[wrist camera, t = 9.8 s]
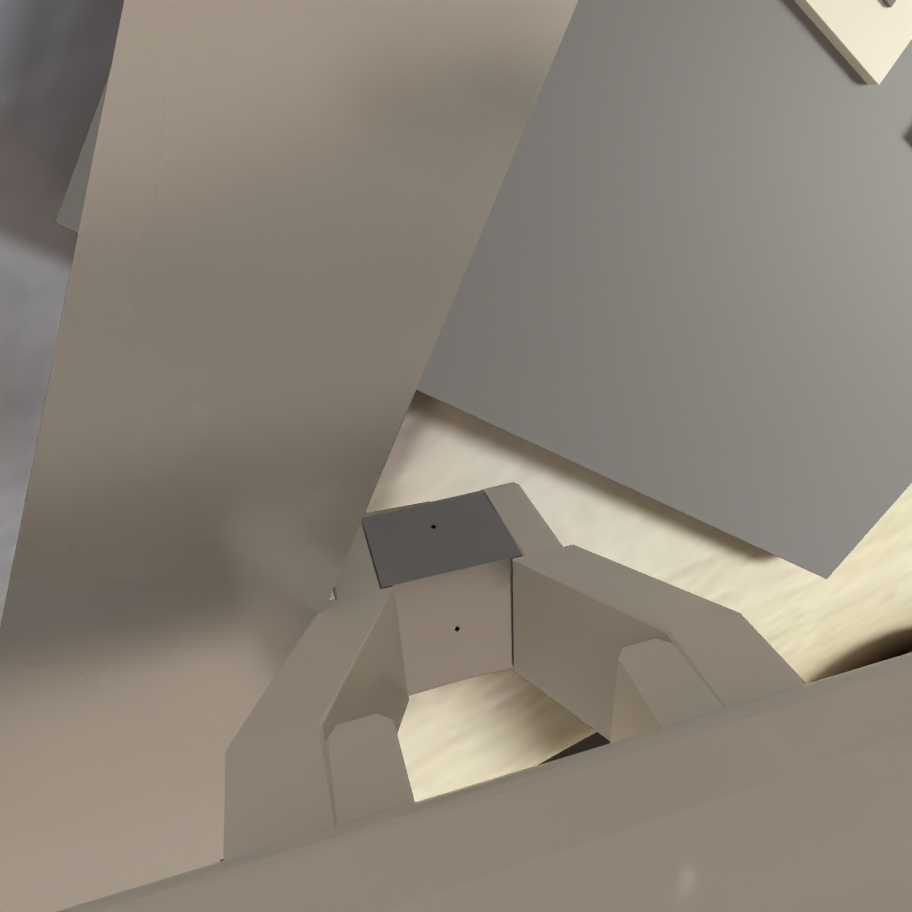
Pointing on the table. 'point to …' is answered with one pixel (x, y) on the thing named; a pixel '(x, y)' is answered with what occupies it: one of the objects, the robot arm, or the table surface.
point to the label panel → (702, 265)
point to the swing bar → (230, 391)
